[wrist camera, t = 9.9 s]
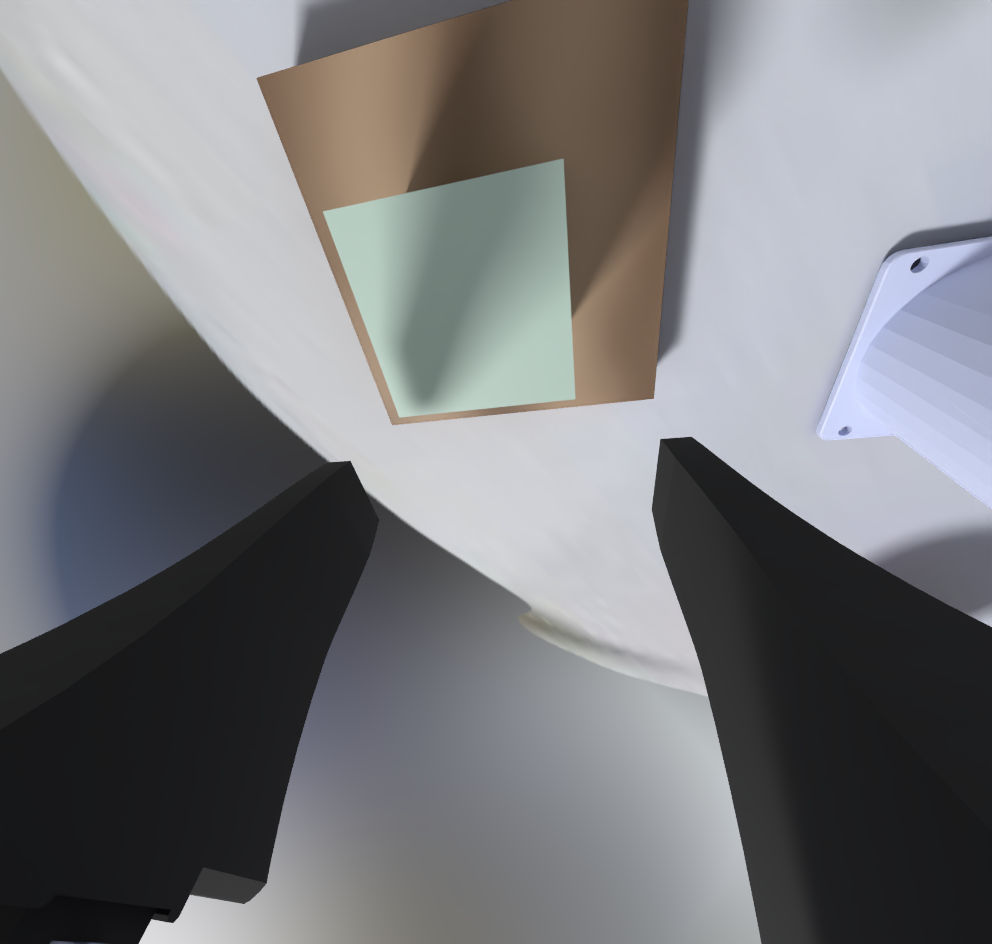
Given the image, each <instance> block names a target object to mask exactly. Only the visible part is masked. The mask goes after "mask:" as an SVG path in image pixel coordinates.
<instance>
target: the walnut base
mask: <svg viewBox="0 0 992 944" xmlns="http://www.w3.org/2000/svg"><path fill="white" fill-rule="evenodd" d="M687 11H688V0H511V1H508V2H504V3H501V4H498V5H495V6H491V7H488V8H485V9H481V10H478V11H475V12H472V13H468V14H465V15H462V16H458V17H455V18H452V19H449V20H445V21H442V22H439V23H435V24H432V25H429V26H426V27H422V28H419V29H416V30H413V31H409V32H406V33H403V34H399V35H396V36H393V37H390V38H386V39H383V40H380V41H376V42H373V43H370V44H367V45H363V46H360V47H357V48H353V49H350V50H347V51H344V52H340V53H337V54H334V55H330V56H327V57H324V58H321V59H317V60H314V61H311V62H308V63H304V64H301V65H298V66H294V67H291V68H288V69H285V70H281V71H278V72H275V73H271V74H268V75H265V76H262V77H258V78H257V81H258V83H259V86H260V88H261V91H262V94H263V96H264V99H265V101H266V104H267V106H268V109H269V111H270V114H271V117H272V119H273V122H274V124H275V127H276V129H277V132H278V134H279V137H280V140H281V142H282V145H283V147H284V150H285V152H286V155H287V157H288V160H289V163H290V165H291V168H292V170H293V173H294V175H295V178H296V180H297V183H298V186H299V188H300V191H301V193H302V196H303V198H304V201H305V203H306V206H307V209H308V211H309V214H310V216H311V219H312V221H313V224H314V227H315V229H316V232H317V234H318V237H319V239H320V242H321V244H322V247H323V250H324V252H325V255H326V257H327V260H328V262H329V265H330V267H331V270H332V273H333V275H334V278H335V280H336V283H337V285H338V288H339V290H340V293H341V296H342V298H343V301H344V303H345V306H346V308H347V311H348V313H349V316H350V319H351V321H352V324H353V326H354V329H355V331H356V334H357V336H358V339H359V342H360V344H361V347H362V349H363V352H364V354H365V357H366V359H367V362H368V365H369V367H370V370H371V372H372V375H373V377H374V380H375V382H376V385H377V388H378V390H379V393H380V395H381V398H382V400H383V403H384V405H385V408H386V411H387V413H388V416H389V418H390V421H391V423H392V425H398V424H408V423H418V422H428V421H438V420H447V419H457V418H467V417H477V416H487V415H497V414H507V413H517V412H526V411H536V410H546V409H556V408H566V407H576V406H586V405H596V404H605V403H615V402H625V401H635V400H645V399H654V390H655V378H656V367H657V355H658V344H659V332H660V321H661V309H662V298H663V286H664V275H665V263H666V252H667V241H668V229H669V218H670V206H671V195H672V183H673V172H674V160H675V149H676V137H677V126H678V114H679V103H680V92H681V80H682V69H683V57H684V46H685V34H686V23H687ZM559 159H564V178H565V198H566V219H567V239H568V259H569V279H570V299H571V319H572V339H573V360H574V380H575V399H573V400H563V401H554V402H544V403H535V404H525V405H515V406H506V407H496V408H487V409H477V410H467V411H458V412H448V413H439V414H429V415H419V416H410V417H400V418H399V415H398V413H397V410H396V407H395V404H394V402H393V399H392V396H391V394H390V391H389V388H388V386H387V383H386V380H385V378H384V375H383V372H382V369H381V367H380V364H379V361H378V359H377V356H376V353H375V351H374V348H373V345H372V343H371V340H370V337H369V335H368V332H367V329H366V326H365V324H364V321H363V318H362V316H361V313H360V310H359V308H358V305H357V302H356V300H355V297H354V294H353V291H352V289H351V286H350V283H349V281H348V278H347V275H346V273H345V270H344V267H343V265H342V262H341V259H340V257H339V254H338V251H337V248H336V246H335V243H334V240H333V238H332V235H331V232H330V230H329V227H328V224H327V222H326V219H325V216H324V213H323V211H328V210H332V209H337V208H341V207H346V206H350V205H355V204H359V203H364V202H369V201H373V200H378V199H382V198H387V197H391V196H396V195H400V194H405V193H409V192H414V191H419V190H423V189H428V188H432V187H437V186H441V185H446V184H450V183H455V182H459V181H464V180H469V179H473V178H478V177H482V176H487V175H491V174H496V173H500V172H505V171H509V170H514V169H518V168H523V167H528V166H532V165H537V164H541V163H546V162H550V161H555V160H559Z"/></svg>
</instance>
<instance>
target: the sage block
mask: <svg viewBox="0 0 992 944" xmlns="http://www.w3.org/2000/svg"><path fill="white" fill-rule="evenodd" d="M323 213H324V216H325V219H326V222H327V224H328V227H329V230H330V232H331V235H332V238H333V240H334V243H335V246H336V248H337V251H338V254H339V257H340V259H341V262H342V265H343V267H344V270H345V273H346V275H347V278H348V281H349V283H350V286H351V289H352V291H353V294H354V297H355V300H356V302H357V305H358V308H359V310H360V313H361V316H362V318H363V321H364V324H365V326H366V329H367V332H368V335H369V337H370V340H371V343H372V345H373V348H374V351H375V353H376V356H377V359H378V361H379V364H380V367H381V369H382V372H383V375H384V378H385V380H386V383H387V386H388V388H389V391H390V394H391V396H392V399H393V402H394V404H395V407H396V410H397V413H398V415H399V418H400V417H410V416H419V415H429V414H439V413H448V412H458V411H467V410H477V409H487V408H496V407H506V406H515V405H525V404H535V403H544V402H554V401H563V400H573V399H575V380H574V360H573V339H572V319H571V299H570V279H569V259H568V239H567V219H566V198H565V178H564V159H559V160H555V161H550V162H546V163H541V164H537V165H532V166H528V167H523V168H518V169H514V170H509V171H505V172H500V173H496V174H491V175H487V176H482V177H478V178H473V179H469V180H464V181H459V182H455V183H450V184H446V185H441V186H437V187H432V188H428V189H423V190H419V191H414V192H409V193H405V194H400V195H396V196H391V197H387V198H382V199H378V200H373V201H369V202H364V203H359V204H355V205H350V206H346V207H341V208H337V209H332V210H328V211H323Z"/></svg>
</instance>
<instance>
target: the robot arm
mask: <svg viewBox="0 0 992 944" xmlns="http://www.w3.org/2000/svg"><path fill="white" fill-rule="evenodd" d="M918 258H921V261H920V263H919V264H918V265H917V266H916V267H915V268H914V269H912V270H910V269H911V265H912V264H913V263H914V261H916V260H917V259H918ZM843 427H845V429H843V430H841V431H839V430H840V429H842V428H843ZM816 433H817V435H818V436H819V437H820V438H821V439H823V440H840V439H853V438H866V437H879V436H892V435H895V436H897V437H898V438H899V439H900V440H902V441H903V442H904V443H906V444H907V445H908V446H910V447H911V448H912V449H914V450H915V451H916V452H917V453H919V454H920V455H921V456H923V457H924V458H925V459H927V460H928V461H929V462H930V463H932V464H933V465H934V466H936V467H937V468H938V469H940V470H941V471H942V472H944V473H945V474H946V475H947V476H949V477H950V478H951V479H953V480H954V481H955V482H957V483H958V484H959V485H961V486H962V487H963V488H964V489H966V490H967V491H968V492H970V493H971V494H972V495H974V496H975V497H976V498H977V499H979V500H980V501H981V502H983V503H984V504H985V505H987V506H988V507H989V508H991V509H992V236H991V237H984V238H977V239H971V240H964V241H958V242H951V243H945V244H938V245H931V246H925V247H918V248H912V249H905V250H901V251H898V252H895V253H894V254H892V255H891V256H889V257H888V258H887V259H886V260H885V261H884V262H883V264H882V266H881V268H880V270H879V273H878V275H877V278H876V280H875V283H874V285H873V288H872V290H871V293H870V295H869V298H868V300H867V303H866V306H865V308H864V311H863V313H862V316H861V318H860V321H859V323H858V326H857V328H856V331H855V333H854V336H853V338H852V341H851V343H850V346H849V349H848V351H847V354H846V356H845V359H844V361H843V364H842V366H841V369H840V371H839V374H838V376H837V379H836V381H835V384H834V387H833V389H832V392H831V394H830V397H829V399H828V402H827V404H826V407H825V409H824V412H823V414H822V417H821V419H820V422H819V424H818V427H817V430H816ZM652 512H653V517H654V522H655V527H656V532H657V537H658V541H659V546H660V550H661V553H662V556H663V559H664V562H665V564H666V567H667V570H668V573H669V576H670V579H671V582H672V585H673V587H674V590H675V593H676V596H677V599H678V601H679V604H680V607H681V610H682V613H683V615H684V618H685V621H686V624H687V627H688V629H689V632H690V635H691V638H692V641H693V644H694V646H695V650H696V653H697V656H698V659H699V663H700V666H701V669H702V673H703V677H704V681H705V685H706V689H707V693H708V697H709V701H710V705H711V709H712V713H713V717H714V721H715V725H716V729H717V734H718V738H719V742H720V746H721V751H722V755H723V760H724V764H725V768H726V772H727V777H728V781H729V785H730V790H731V795H732V799H733V804H734V809H735V813H736V818H737V823H738V827H739V832H740V837H741V841H742V846H743V850H744V855H745V860H746V866H747V871H748V876H749V881H750V886H751V891H752V896H753V901H754V906H755V911H756V917H757V922H758V926H759V932H760V937H761V943H762V944H992V627H990V626H988V625H986V624H984V623H982V622H980V621H978V620H976V619H974V618H972V617H970V616H969V615H967V614H965V613H963V612H961V611H959V610H957V609H955V608H953V607H951V606H949V605H947V604H945V603H943V602H942V601H940V600H938V599H936V598H934V597H932V596H930V595H928V594H927V593H925V592H923V591H921V590H919V589H917V588H916V587H914V586H912V585H910V584H908V583H907V582H905V581H903V580H901V579H900V578H898V577H896V576H894V575H893V574H891V573H889V572H888V571H886V570H884V569H882V568H881V567H879V566H877V565H875V564H874V563H872V562H870V561H868V560H867V559H865V558H863V557H861V556H860V555H858V554H856V553H855V552H853V551H852V550H850V549H848V548H847V547H845V546H843V545H842V544H840V543H838V542H837V541H835V540H834V539H832V538H831V537H829V536H828V535H826V534H824V533H823V532H821V531H820V530H818V529H817V528H815V527H814V526H812V525H811V524H809V523H808V522H806V521H805V520H803V519H802V518H800V517H799V516H797V515H796V514H794V513H793V512H791V511H790V510H788V509H787V508H786V507H784V506H783V505H781V504H780V503H778V502H777V501H776V500H774V499H773V498H771V497H770V496H769V495H767V494H766V493H764V492H763V491H762V490H760V489H759V488H758V487H756V486H755V485H754V484H752V483H751V482H750V481H748V480H747V479H746V478H744V477H743V476H742V475H740V474H739V473H738V472H736V471H735V470H734V469H733V468H731V467H730V466H729V465H727V464H726V463H725V462H724V461H722V460H721V459H720V458H718V457H717V456H716V455H715V454H713V453H712V452H711V451H709V450H708V449H707V448H706V447H704V446H703V445H702V444H700V443H699V442H698V441H696V440H695V439H694V438H692V437H684V438H670V439H660V447H659V455H658V464H657V472H656V480H655V488H654V496H653V504H652ZM378 522H379V519H378V517H377V515H376V513H375V511H374V509H373V507H372V504H371V503H370V500H369V498H368V496H367V494H366V492H365V490H364V488H363V486H362V484H361V482H360V480H359V478H358V476H357V474H356V471H355V469H354V467H353V465H352V463H351V461H344V462H330V463H327V464H325V465H323V466H321V467H319V468H318V469H316V470H315V471H313V472H311V473H310V474H308V475H307V476H306V477H304V478H302V479H301V480H299V481H298V482H296V483H295V484H294V485H292V486H291V487H289V488H288V489H286V490H285V491H284V492H282V493H281V494H279V495H278V496H276V497H275V498H274V499H272V500H271V501H269V502H268V503H266V504H265V505H264V506H262V507H261V508H259V509H258V510H257V511H255V512H254V513H252V514H251V515H249V516H248V517H246V518H245V519H243V520H242V521H240V522H239V523H237V524H236V525H235V526H233V527H231V528H230V529H228V530H227V531H225V532H224V533H223V534H221V535H219V536H218V537H216V538H215V539H213V540H212V541H210V542H209V543H207V544H206V545H204V546H203V547H201V548H200V549H198V550H197V551H195V552H193V553H192V554H190V555H189V556H187V557H185V558H184V559H182V560H181V561H179V562H177V563H176V564H174V565H172V566H171V567H169V568H167V569H165V570H164V571H162V572H160V573H159V574H157V575H155V576H153V577H151V578H150V579H148V580H146V581H145V582H143V583H141V584H139V585H138V586H136V587H134V588H132V589H130V590H128V591H127V592H125V593H123V594H121V595H119V596H117V597H115V598H114V599H111V600H109V601H107V602H105V603H104V604H102V605H100V606H98V607H96V608H94V609H92V610H90V611H88V612H86V613H84V614H82V615H80V616H78V617H76V618H74V619H73V620H70V621H69V622H67V623H65V624H63V625H61V626H59V627H57V628H55V629H53V630H50V631H48V632H46V633H44V634H42V635H40V636H38V637H36V638H34V639H32V640H29V641H28V642H25V643H23V644H21V645H19V646H16V647H14V648H12V649H10V650H8V651H5V652H3V653H2V654H0V944H138V943H139V942H140V940H141V938H142V936H143V934H144V932H145V930H146V928H147V926H148V924H149V923H150V921H151V919H154V920H159V921H164V922H171V923H173V922H174V921H175V920H176V919H177V918H178V917H179V915H180V913H181V911H182V909H183V907H184V905H185V903H186V901H187V899H188V897H189V895H194V896H201V897H206V898H212V899H219V900H224V901H230V902H236V903H242V904H245V903H246V902H248V901H250V900H251V899H252V898H253V897H254V896H255V895H256V894H257V893H259V892H260V891H261V889H262V888H263V887H264V886H265V884H266V883H267V878H268V873H269V867H270V862H271V857H272V853H273V848H274V843H275V839H276V835H277V829H278V825H279V820H280V816H281V811H282V806H283V802H284V798H285V794H286V791H287V786H288V783H289V779H290V775H291V771H292V767H293V763H294V759H295V755H296V752H297V747H298V744H299V741H300V737H301V734H302V731H303V727H304V724H305V720H306V717H307V713H308V710H309V707H310V703H311V700H312V697H313V694H314V691H315V688H316V685H317V682H318V679H319V675H320V673H321V670H322V666H323V664H324V660H325V658H326V655H327V652H328V650H329V647H330V645H331V642H332V640H333V638H334V635H335V633H336V631H337V629H338V626H339V624H340V622H341V619H342V617H343V615H344V613H345V611H346V608H347V606H348V604H349V601H350V599H351V597H352V595H353V593H354V590H355V588H356V586H357V583H358V581H359V579H360V577H361V574H362V572H363V569H364V567H365V565H366V562H367V560H368V557H369V555H370V551H371V548H372V545H373V542H374V538H375V534H376V530H377V526H378Z"/></svg>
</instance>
